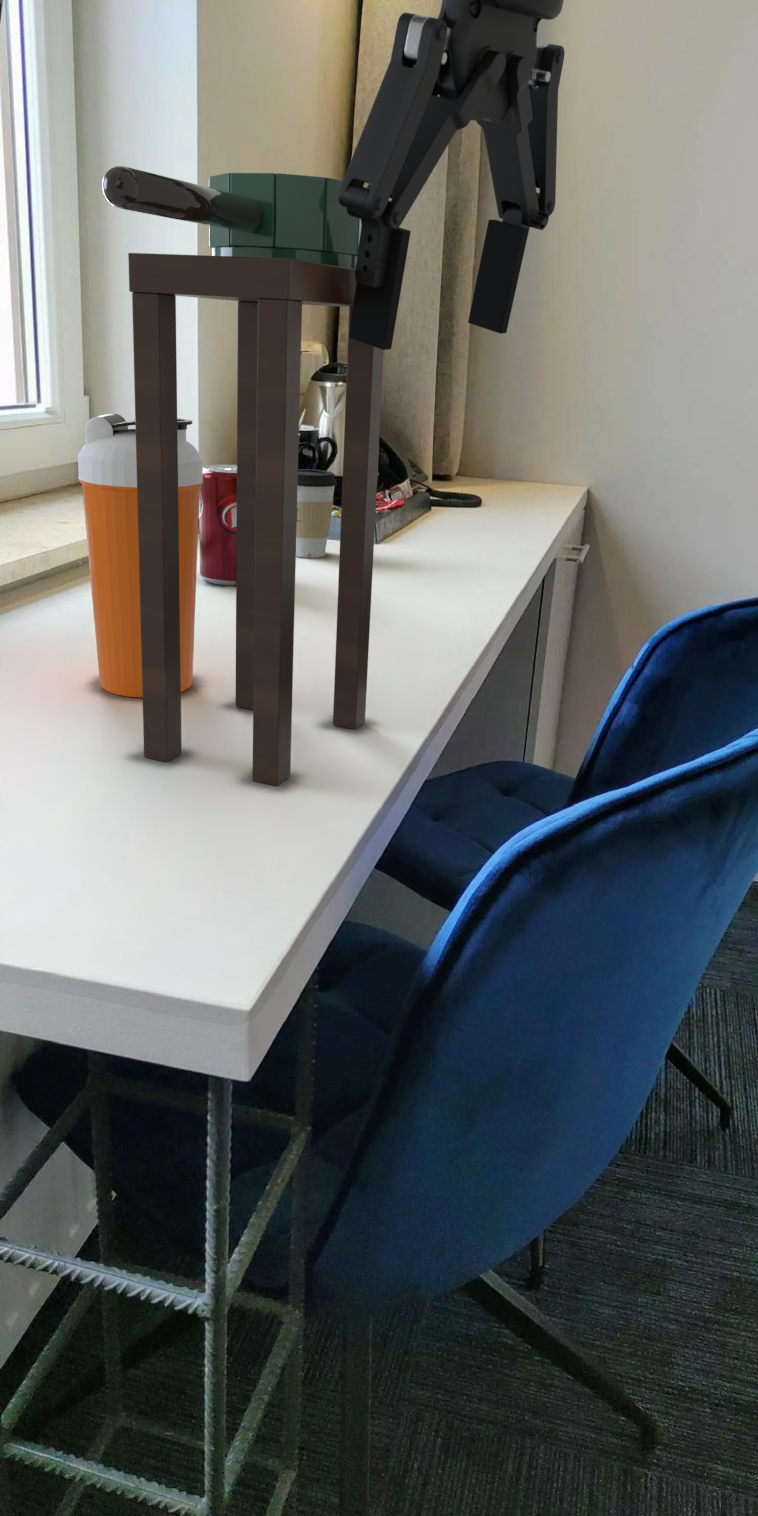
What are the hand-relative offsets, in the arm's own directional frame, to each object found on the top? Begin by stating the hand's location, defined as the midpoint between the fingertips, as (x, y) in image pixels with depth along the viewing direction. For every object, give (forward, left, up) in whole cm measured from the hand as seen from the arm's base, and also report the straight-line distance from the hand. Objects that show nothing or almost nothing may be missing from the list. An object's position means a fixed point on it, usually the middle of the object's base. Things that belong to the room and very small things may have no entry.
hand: (432, 335), depth 71 cm
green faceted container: (-11, -9, +3) cm, 15 cm away
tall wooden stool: (-10, -5, -27) cm, 29 cm away
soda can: (-22, +44, -27) cm, 56 cm away
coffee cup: (-16, +61, -27) cm, 69 cm away
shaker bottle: (-21, +5, -27) cm, 34 cm away
